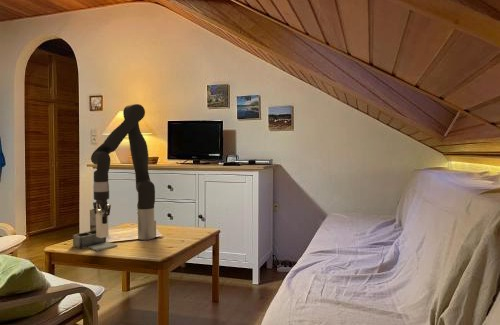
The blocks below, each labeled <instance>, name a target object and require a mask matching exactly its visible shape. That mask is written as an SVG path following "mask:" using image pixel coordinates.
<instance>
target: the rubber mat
mask: <svg viewBox="0 0 500 325" xmlns="http://www.w3.org/2000/svg"><path fill="white" fill-rule="evenodd" d="M117 247H118V244H116V243H113V242H110V241H106V242H105V243H101V244H97V245H93V246H89V247H88V249H90V248H91V249H90V250H93V251H95V250H96V252H100V251H99V250H101V251H105V250H109V249H113V248H117ZM108 248H109V249H108ZM104 249H105V250H104Z"/></svg>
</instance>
